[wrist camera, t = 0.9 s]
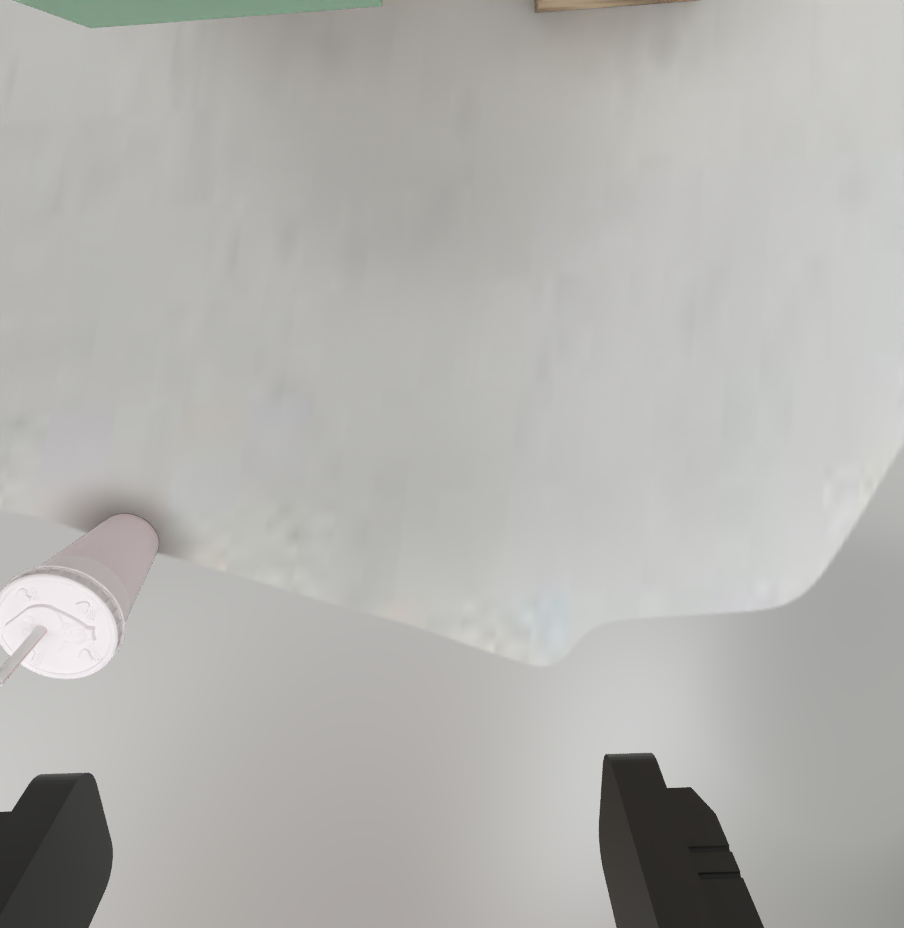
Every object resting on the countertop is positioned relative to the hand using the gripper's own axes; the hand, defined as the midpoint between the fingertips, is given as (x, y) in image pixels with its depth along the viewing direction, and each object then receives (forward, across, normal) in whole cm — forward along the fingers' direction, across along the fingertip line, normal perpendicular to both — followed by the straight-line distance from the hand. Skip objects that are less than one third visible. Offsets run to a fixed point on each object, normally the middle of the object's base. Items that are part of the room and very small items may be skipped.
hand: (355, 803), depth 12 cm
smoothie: (+34, -18, -12) cm, 40 cm away
